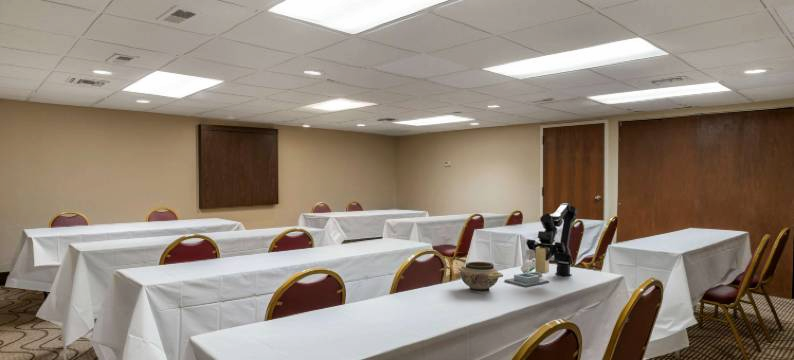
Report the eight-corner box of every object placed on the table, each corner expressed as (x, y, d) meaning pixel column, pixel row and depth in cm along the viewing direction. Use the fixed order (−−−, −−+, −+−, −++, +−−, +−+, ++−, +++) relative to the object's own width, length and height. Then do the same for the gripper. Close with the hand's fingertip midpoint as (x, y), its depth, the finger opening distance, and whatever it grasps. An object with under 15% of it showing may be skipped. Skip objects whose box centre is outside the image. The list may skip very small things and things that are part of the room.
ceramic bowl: (508, 299, 214) (513, 267, 217) (485, 295, 203) (491, 262, 206) (468, 289, 233) (473, 260, 235) (445, 285, 222) (451, 255, 224)
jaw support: (548, 267, 259) (545, 257, 253) (545, 280, 254) (542, 271, 248) (528, 265, 266) (524, 255, 260) (524, 278, 261) (520, 268, 255)
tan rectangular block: (539, 270, 233) (539, 246, 233) (548, 272, 230) (549, 247, 230) (535, 272, 229) (535, 247, 229) (545, 273, 226) (545, 248, 226)
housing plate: (527, 277, 248) (527, 271, 248) (548, 282, 236) (548, 275, 236) (504, 281, 238) (504, 274, 238) (525, 287, 226) (525, 280, 226)
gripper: (527, 224, 238) (518, 247, 230) (563, 226, 226) (555, 251, 218) (533, 237, 244) (525, 260, 236) (568, 240, 233) (561, 265, 224)
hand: (541, 259), depth 228 cm, fingers closed on tan rectangular block, 5 cm apart
